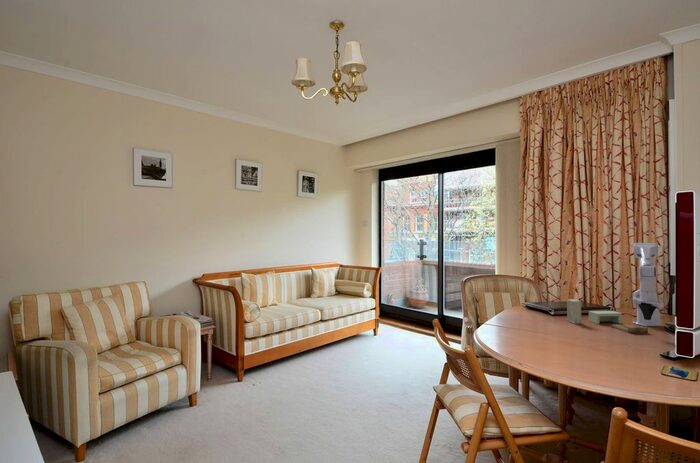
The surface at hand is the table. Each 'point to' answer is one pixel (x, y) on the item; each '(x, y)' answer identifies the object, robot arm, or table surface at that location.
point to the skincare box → (574, 311)
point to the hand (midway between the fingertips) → (647, 319)
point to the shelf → (604, 316)
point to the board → (630, 329)
